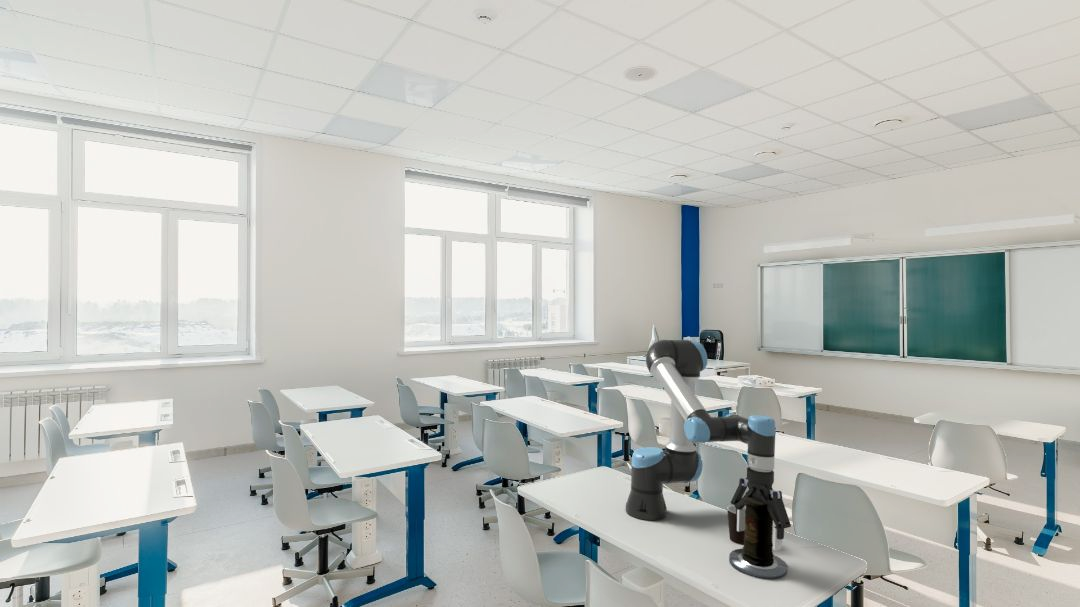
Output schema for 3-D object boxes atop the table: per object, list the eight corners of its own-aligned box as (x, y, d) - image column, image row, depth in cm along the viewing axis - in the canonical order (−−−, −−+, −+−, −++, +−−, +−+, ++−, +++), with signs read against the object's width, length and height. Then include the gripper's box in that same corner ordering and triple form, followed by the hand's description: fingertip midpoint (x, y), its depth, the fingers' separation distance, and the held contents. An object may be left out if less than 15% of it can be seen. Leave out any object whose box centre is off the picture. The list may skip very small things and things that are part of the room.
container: (751, 550, 163) (752, 492, 163) (779, 561, 156) (781, 500, 156) (735, 558, 157) (737, 497, 157) (764, 570, 150) (766, 507, 150)
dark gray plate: (717, 558, 160) (717, 552, 160) (756, 550, 167) (756, 544, 167) (759, 583, 146) (759, 577, 146) (799, 573, 152) (799, 567, 152)
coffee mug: (736, 547, 168) (737, 516, 169) (720, 536, 177) (721, 506, 177) (767, 544, 172) (768, 513, 172) (750, 533, 180) (751, 504, 180)
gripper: (720, 458, 167) (718, 525, 166) (786, 482, 144) (784, 560, 144) (738, 456, 170) (736, 521, 169) (805, 479, 147) (803, 555, 147)
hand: (758, 539), depth 156 cm, fingers open, 13 cm apart
